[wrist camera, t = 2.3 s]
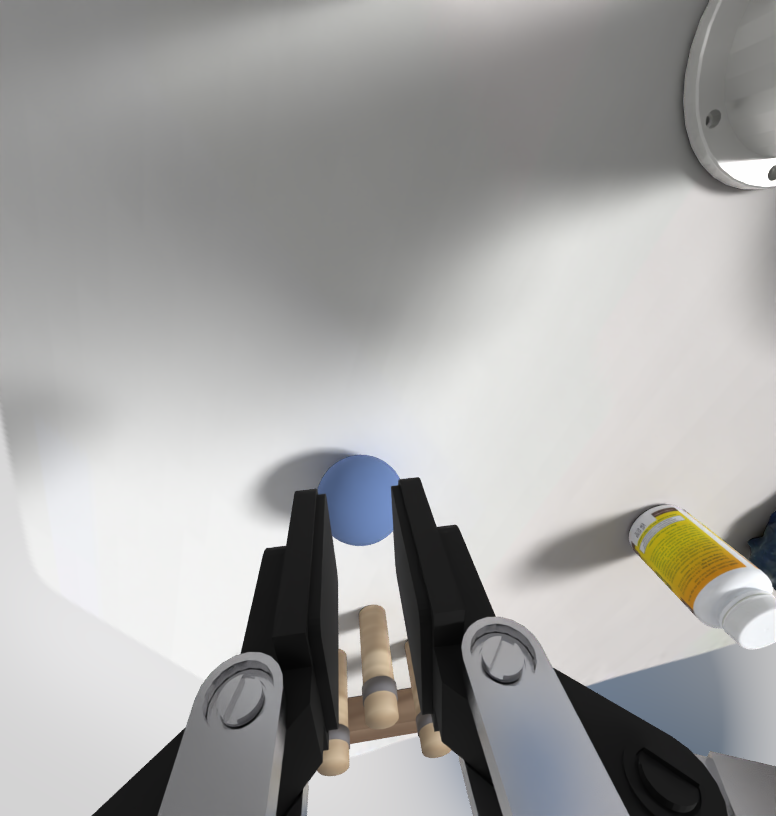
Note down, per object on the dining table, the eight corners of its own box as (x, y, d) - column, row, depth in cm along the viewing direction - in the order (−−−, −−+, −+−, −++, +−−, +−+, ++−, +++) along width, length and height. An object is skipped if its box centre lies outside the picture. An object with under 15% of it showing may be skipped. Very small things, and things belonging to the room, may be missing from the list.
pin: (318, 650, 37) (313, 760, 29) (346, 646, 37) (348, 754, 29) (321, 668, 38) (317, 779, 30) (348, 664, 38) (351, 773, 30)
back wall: (330, 700, 40) (330, 734, 37) (427, 685, 41) (434, 717, 38) (332, 712, 41) (332, 746, 38) (428, 697, 42) (434, 729, 39)
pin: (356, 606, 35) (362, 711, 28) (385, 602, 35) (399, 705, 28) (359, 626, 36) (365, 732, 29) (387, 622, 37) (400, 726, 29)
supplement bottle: (613, 543, 36) (710, 652, 27) (649, 494, 34) (766, 593, 25) (659, 555, 37) (766, 662, 28) (696, 509, 35) (824, 607, 26)
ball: (313, 444, 28) (307, 494, 23) (396, 435, 29) (410, 482, 23) (323, 511, 31) (320, 572, 25) (399, 502, 31) (413, 559, 26)
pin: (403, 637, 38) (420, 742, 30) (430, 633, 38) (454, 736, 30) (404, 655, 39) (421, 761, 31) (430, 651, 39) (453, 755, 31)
